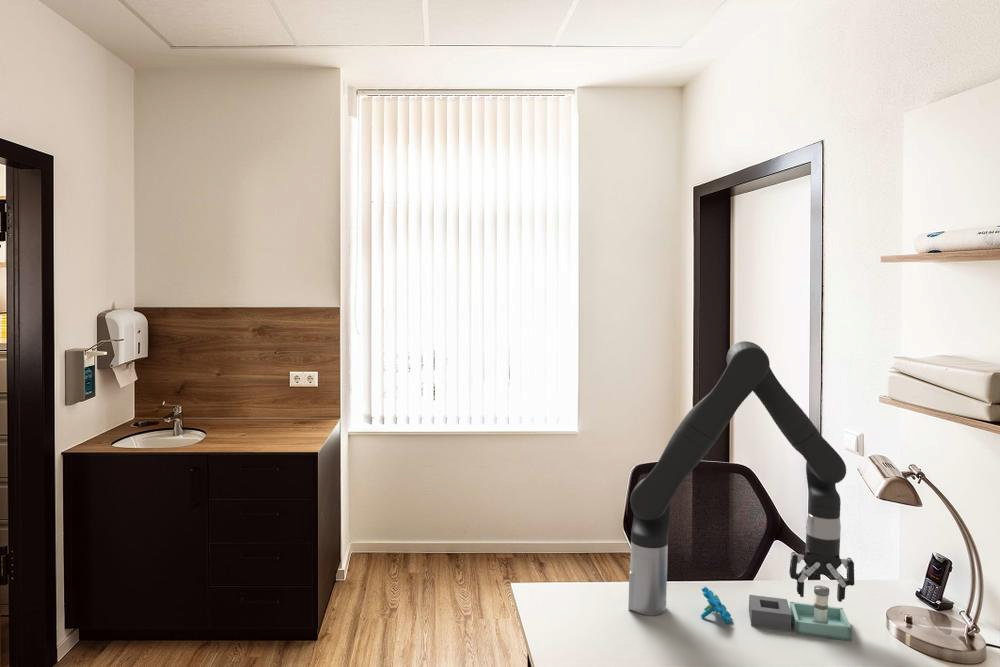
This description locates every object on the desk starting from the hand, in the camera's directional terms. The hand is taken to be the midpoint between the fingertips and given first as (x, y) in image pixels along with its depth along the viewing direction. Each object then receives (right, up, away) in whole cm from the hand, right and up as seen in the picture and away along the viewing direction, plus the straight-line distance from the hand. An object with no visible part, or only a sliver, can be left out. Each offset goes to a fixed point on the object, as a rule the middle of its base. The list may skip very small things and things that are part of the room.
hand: (820, 598), depth 173 cm
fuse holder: (-11, -7, +4) cm, 14 cm away
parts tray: (0, -7, 0) cm, 7 cm away
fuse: (0, -7, 0) cm, 7 cm away
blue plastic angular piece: (-24, -7, +4) cm, 25 cm away
